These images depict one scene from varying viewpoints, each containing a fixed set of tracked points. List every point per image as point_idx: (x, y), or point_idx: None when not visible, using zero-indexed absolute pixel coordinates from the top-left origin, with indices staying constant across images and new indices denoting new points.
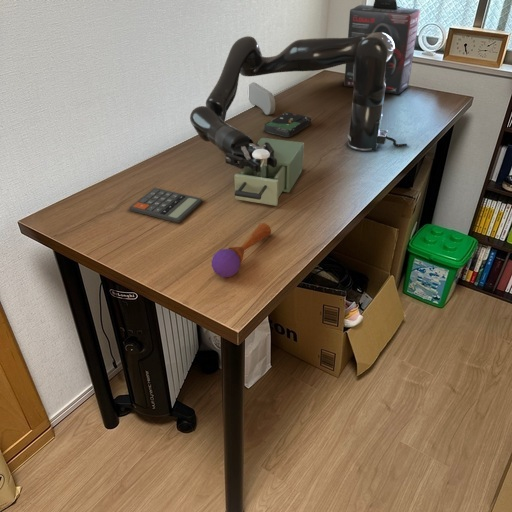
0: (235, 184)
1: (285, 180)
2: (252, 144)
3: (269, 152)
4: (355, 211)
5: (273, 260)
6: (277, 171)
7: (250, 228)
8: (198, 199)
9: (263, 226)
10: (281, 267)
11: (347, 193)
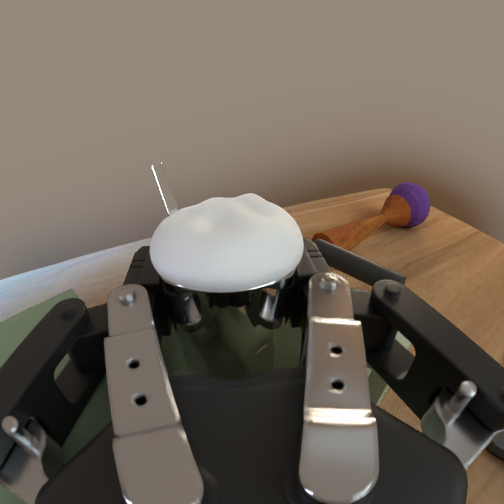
0: None
1: None
2: (144, 466)
3: (109, 294)
4: (83, 258)
5: (327, 222)
6: None
7: None
8: (502, 439)
9: (331, 230)
10: (320, 212)
11: (21, 305)
